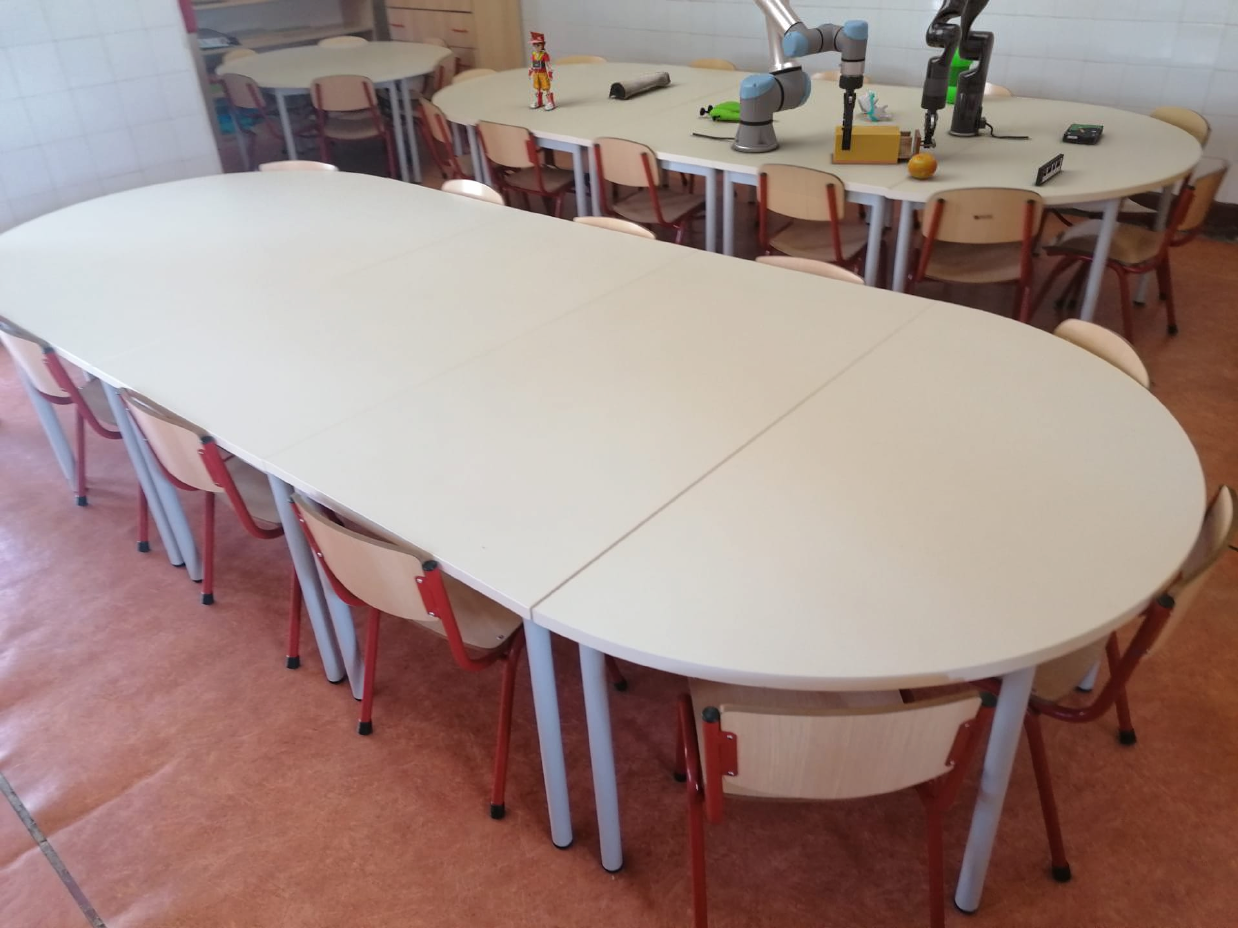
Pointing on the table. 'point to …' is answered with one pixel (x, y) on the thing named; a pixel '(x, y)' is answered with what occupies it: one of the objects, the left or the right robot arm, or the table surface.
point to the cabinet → (868, 145)
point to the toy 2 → (723, 111)
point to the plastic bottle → (956, 75)
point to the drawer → (907, 142)
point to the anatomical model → (872, 107)
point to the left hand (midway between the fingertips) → (845, 145)
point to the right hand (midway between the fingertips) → (926, 148)
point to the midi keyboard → (1049, 169)
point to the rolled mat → (638, 84)
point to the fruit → (922, 165)
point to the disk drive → (1083, 133)
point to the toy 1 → (541, 71)
